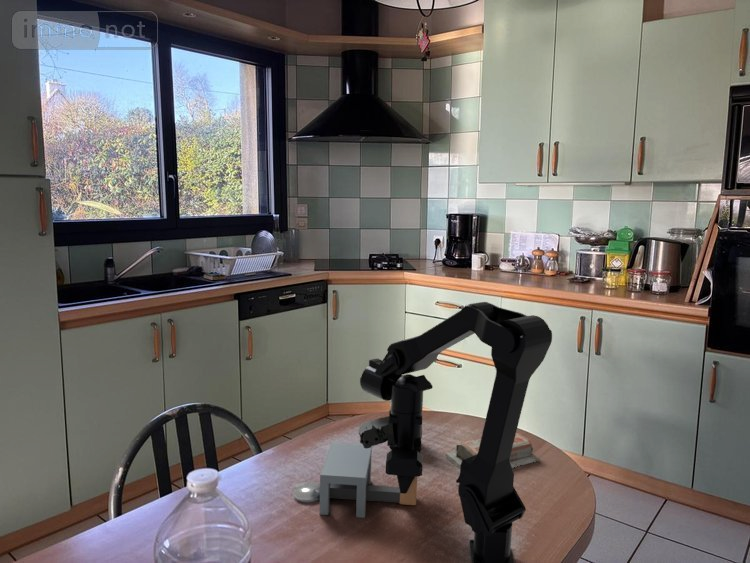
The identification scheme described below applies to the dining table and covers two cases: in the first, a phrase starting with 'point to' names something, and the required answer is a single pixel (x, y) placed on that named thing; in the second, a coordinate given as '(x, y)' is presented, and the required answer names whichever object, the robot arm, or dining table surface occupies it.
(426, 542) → the dining table surface
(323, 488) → the gray mini bench
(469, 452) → the packaged product
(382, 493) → the scraper
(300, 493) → the token
